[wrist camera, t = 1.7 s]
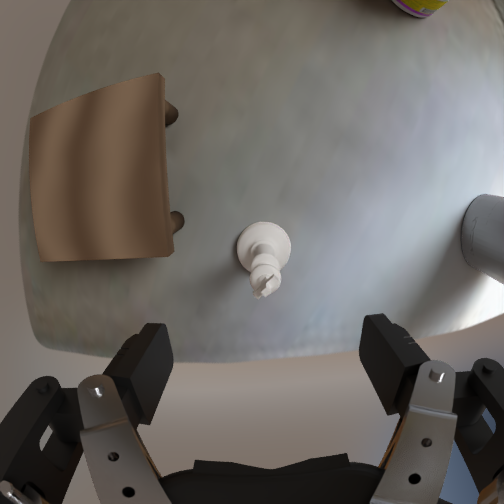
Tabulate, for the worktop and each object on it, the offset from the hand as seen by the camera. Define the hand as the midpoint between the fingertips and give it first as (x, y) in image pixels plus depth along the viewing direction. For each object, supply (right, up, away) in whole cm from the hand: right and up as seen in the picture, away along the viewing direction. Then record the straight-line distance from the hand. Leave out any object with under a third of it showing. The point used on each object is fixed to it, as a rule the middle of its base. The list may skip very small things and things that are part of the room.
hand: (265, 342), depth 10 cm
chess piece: (+1, +4, +15) cm, 15 cm away
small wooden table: (-13, +11, +13) cm, 21 cm away
